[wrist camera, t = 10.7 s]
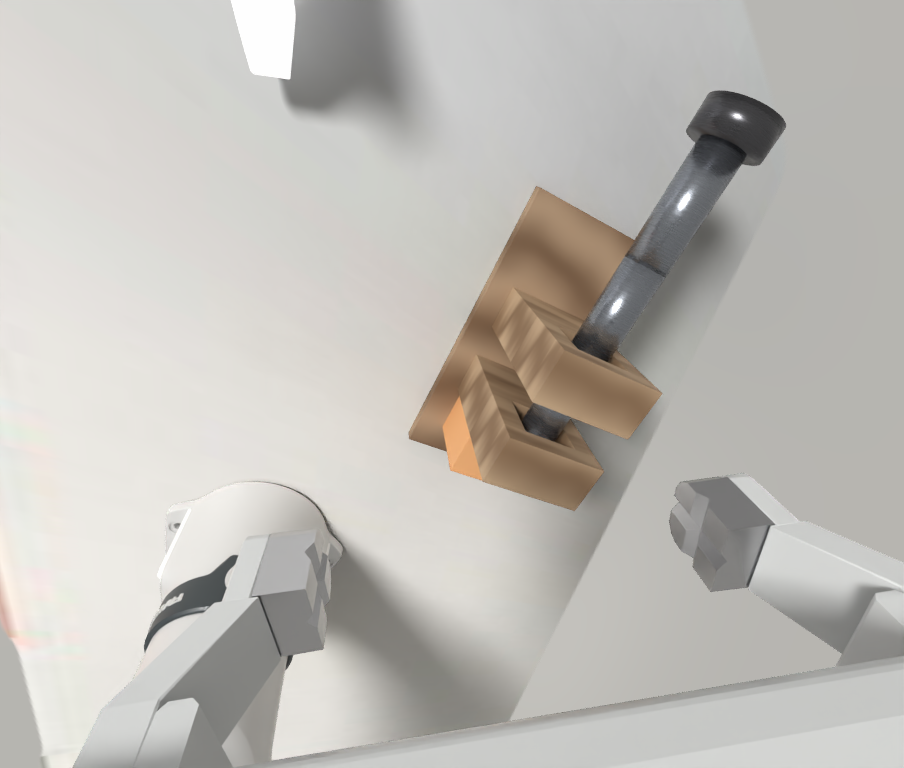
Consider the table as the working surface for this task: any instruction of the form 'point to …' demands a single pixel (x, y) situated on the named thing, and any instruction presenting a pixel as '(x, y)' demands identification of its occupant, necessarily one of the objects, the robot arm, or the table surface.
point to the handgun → (267, 35)
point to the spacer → (460, 443)
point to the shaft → (671, 226)
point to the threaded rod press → (539, 358)
